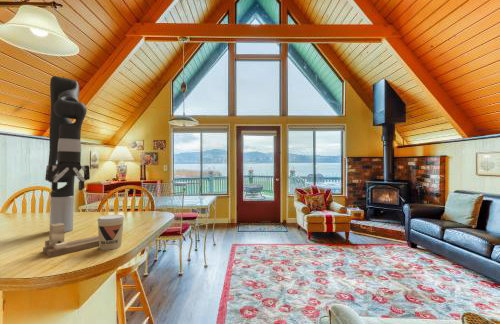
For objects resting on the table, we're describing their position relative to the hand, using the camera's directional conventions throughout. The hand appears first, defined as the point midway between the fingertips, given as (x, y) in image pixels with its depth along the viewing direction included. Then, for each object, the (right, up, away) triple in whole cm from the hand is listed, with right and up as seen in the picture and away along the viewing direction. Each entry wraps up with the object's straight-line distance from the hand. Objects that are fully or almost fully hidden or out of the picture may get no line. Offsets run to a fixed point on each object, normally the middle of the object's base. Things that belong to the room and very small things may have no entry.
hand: (68, 191), depth 98 cm
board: (+5, -22, -1) cm, 23 cm away
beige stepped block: (0, -22, -5) cm, 22 cm away
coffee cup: (+17, -23, +1) cm, 28 cm away
